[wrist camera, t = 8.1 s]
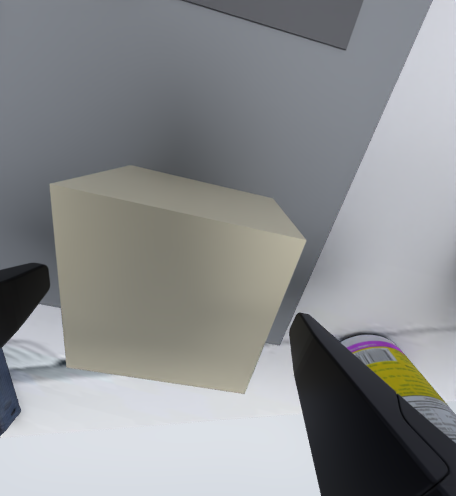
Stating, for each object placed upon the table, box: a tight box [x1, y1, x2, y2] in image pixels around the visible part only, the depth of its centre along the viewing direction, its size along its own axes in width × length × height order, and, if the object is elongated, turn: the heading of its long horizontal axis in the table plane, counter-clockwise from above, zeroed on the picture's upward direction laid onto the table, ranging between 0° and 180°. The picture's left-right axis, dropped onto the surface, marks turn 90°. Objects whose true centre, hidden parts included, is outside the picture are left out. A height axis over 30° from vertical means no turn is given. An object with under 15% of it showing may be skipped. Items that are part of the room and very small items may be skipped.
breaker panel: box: [0, 0, 433, 345], centre depth 11 cm, size 18×24×4 cm
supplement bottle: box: [341, 335, 456, 443], centre depth 15 cm, size 7×7×13 cm
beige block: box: [49, 165, 307, 394], centre depth 10 cm, size 7×7×5 cm
